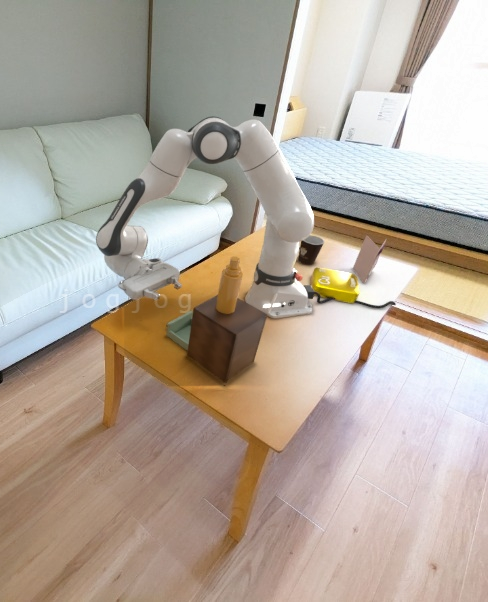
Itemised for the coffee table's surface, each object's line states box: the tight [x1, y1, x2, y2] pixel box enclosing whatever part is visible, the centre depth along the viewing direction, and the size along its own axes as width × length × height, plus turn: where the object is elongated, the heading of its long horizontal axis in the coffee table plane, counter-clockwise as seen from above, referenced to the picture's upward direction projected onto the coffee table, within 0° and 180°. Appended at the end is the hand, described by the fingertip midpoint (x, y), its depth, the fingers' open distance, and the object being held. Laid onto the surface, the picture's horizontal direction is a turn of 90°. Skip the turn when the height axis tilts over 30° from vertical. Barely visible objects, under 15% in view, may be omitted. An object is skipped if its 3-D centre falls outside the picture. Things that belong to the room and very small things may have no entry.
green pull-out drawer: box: [165, 310, 193, 352], centre depth 113 cm, size 16×10×6 cm, turn 39°
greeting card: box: [352, 235, 387, 284], centre depth 143 cm, size 11×7×15 cm, turn 139°
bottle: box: [216, 256, 244, 314], centre depth 94 cm, size 5×5×15 cm
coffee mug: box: [297, 234, 325, 266], centre depth 155 cm, size 12×9×10 cm
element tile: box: [310, 266, 360, 304], centre depth 138 cm, size 15×15×5 cm
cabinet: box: [186, 294, 268, 387], centre depth 103 cm, size 14×13×18 cm
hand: (169, 292), depth 115 cm, fingers open, 8 cm apart
